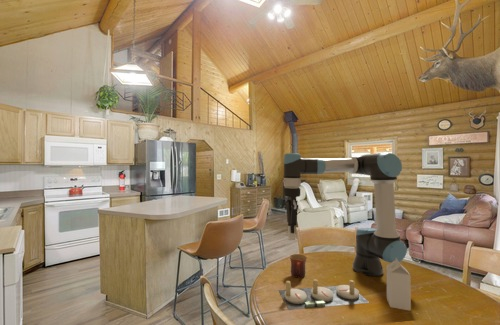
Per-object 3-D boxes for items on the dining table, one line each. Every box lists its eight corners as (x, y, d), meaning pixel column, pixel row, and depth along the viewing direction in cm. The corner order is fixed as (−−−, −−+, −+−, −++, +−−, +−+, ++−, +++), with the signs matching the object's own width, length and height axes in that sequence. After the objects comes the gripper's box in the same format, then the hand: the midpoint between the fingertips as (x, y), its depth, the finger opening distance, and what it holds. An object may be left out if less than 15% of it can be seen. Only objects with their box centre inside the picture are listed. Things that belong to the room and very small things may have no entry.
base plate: (349, 287, 114) (349, 282, 114) (369, 305, 100) (369, 299, 100) (278, 292, 109) (278, 287, 109) (288, 312, 94) (288, 306, 94)
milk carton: (405, 304, 101) (405, 258, 101) (410, 313, 94) (410, 265, 95) (386, 300, 103) (386, 256, 104) (390, 310, 97) (390, 262, 97)
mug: (289, 272, 130) (289, 253, 130) (306, 274, 128) (306, 254, 129) (288, 282, 118) (289, 262, 119) (307, 284, 117) (307, 263, 117)
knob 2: (351, 287, 111) (351, 272, 111) (363, 298, 102) (363, 281, 102) (332, 289, 110) (332, 273, 110) (343, 300, 101) (343, 283, 101)
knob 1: (281, 293, 106) (281, 277, 106) (300, 291, 108) (300, 275, 108) (290, 305, 97) (290, 287, 97) (310, 302, 99) (310, 284, 99)
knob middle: (307, 292, 107) (307, 276, 107) (324, 288, 110) (324, 273, 110) (319, 303, 98) (319, 285, 99) (337, 299, 101) (337, 282, 101)
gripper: (280, 186, 115) (280, 235, 114) (286, 188, 102) (286, 244, 101) (296, 186, 115) (296, 235, 115) (304, 188, 102) (304, 244, 102)
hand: (291, 239), depth 108 cm, fingers closed
